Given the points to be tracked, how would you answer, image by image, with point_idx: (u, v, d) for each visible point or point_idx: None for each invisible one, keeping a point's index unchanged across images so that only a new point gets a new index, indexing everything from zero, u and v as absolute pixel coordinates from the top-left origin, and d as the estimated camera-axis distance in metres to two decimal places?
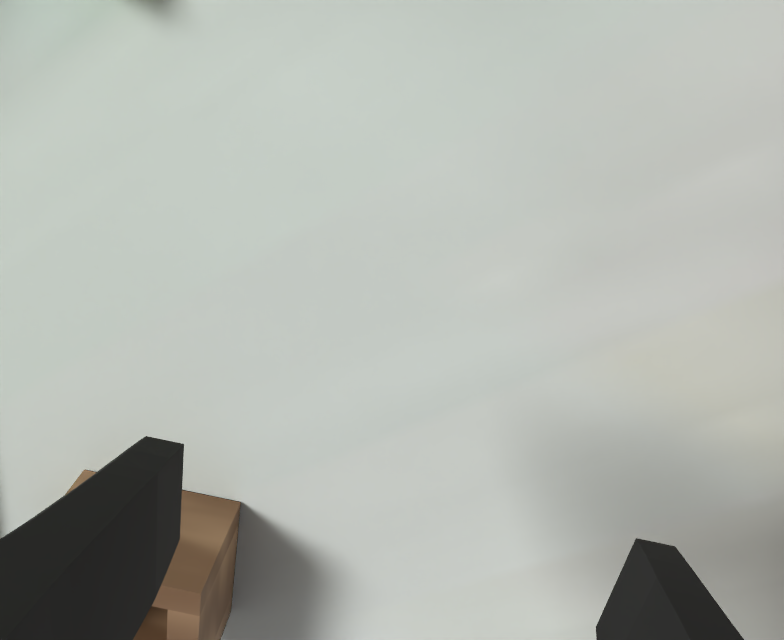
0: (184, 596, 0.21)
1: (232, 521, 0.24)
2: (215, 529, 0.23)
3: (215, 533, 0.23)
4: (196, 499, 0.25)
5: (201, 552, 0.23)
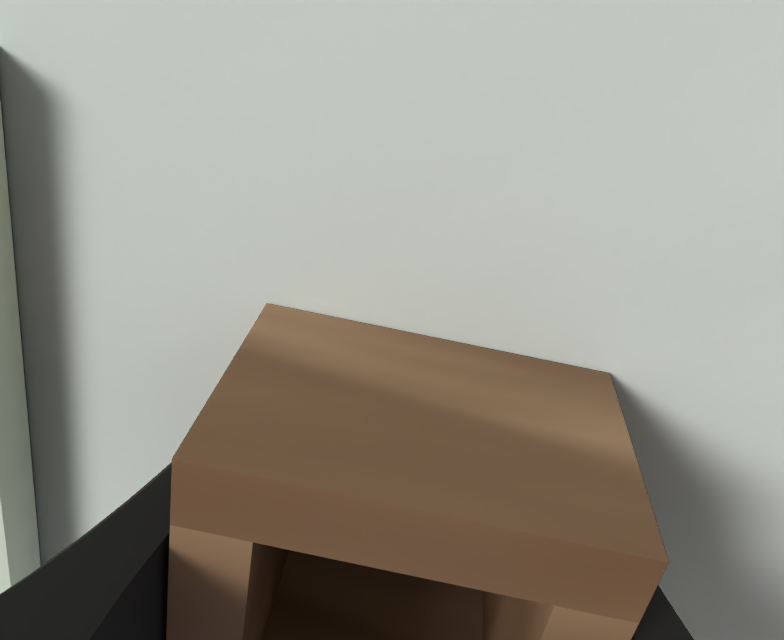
0: (616, 570, 0.08)
1: (617, 407, 0.11)
2: (597, 420, 0.10)
3: (603, 428, 0.10)
4: (520, 364, 0.11)
5: (602, 465, 0.09)
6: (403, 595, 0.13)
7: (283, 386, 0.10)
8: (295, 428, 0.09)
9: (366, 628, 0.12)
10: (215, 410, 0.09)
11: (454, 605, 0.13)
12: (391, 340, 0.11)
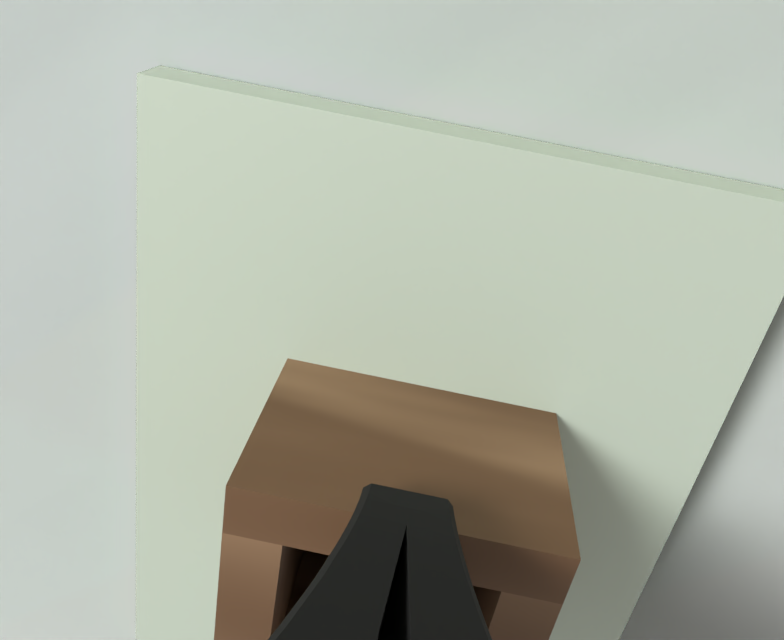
0: (544, 566, 0.11)
1: (559, 441, 0.14)
2: (541, 452, 0.13)
3: (545, 458, 0.13)
4: (485, 406, 0.14)
5: (540, 488, 0.12)
6: None
7: (303, 428, 0.13)
8: (312, 461, 0.12)
9: None
10: (253, 447, 0.12)
11: None
12: (384, 388, 0.14)
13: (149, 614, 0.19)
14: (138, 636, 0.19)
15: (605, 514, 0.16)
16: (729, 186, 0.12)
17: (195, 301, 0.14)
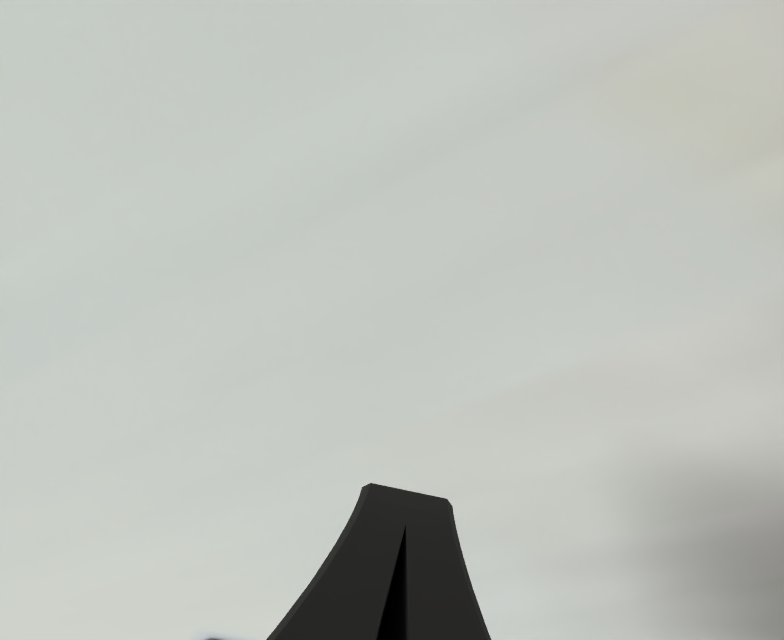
0: None
1: None
2: None
3: None
4: None
5: None
6: None
7: None
8: None
9: None
10: None
11: None
12: None
13: None
14: None
15: None
16: None
17: None
